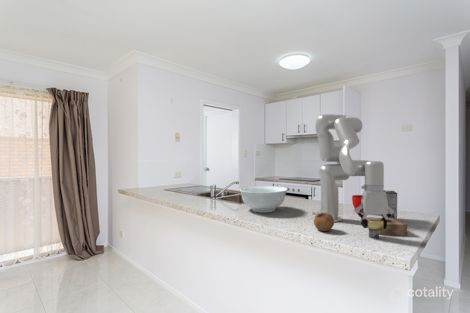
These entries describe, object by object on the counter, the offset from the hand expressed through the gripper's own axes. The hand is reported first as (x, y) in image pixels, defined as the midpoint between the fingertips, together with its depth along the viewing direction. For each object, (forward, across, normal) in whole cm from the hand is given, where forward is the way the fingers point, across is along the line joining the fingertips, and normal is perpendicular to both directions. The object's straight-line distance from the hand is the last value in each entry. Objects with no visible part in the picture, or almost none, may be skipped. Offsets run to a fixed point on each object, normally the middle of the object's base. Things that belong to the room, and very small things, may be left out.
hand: (374, 227), depth 114 cm
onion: (+5, -20, +8) cm, 22 cm away
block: (+4, +10, +10) cm, 15 cm away
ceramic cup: (+4, +16, +51) cm, 54 cm away
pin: (+4, 0, 0) cm, 4 cm away
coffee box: (+5, +22, +34) cm, 41 cm away
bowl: (+4, -50, +50) cm, 71 cm away
